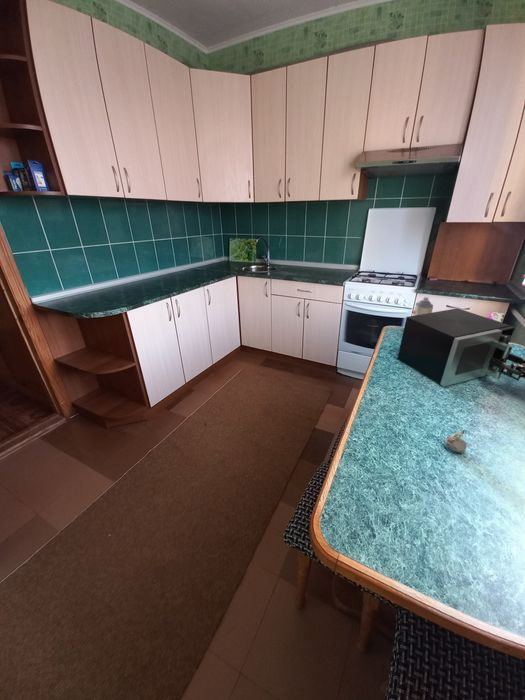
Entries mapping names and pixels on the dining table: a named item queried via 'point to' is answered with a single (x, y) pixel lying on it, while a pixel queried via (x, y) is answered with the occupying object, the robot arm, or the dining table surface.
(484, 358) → the oven door
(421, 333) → the oven
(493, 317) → the candy bar box
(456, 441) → the figurine
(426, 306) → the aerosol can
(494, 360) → the robot arm
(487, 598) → the dining table surface
